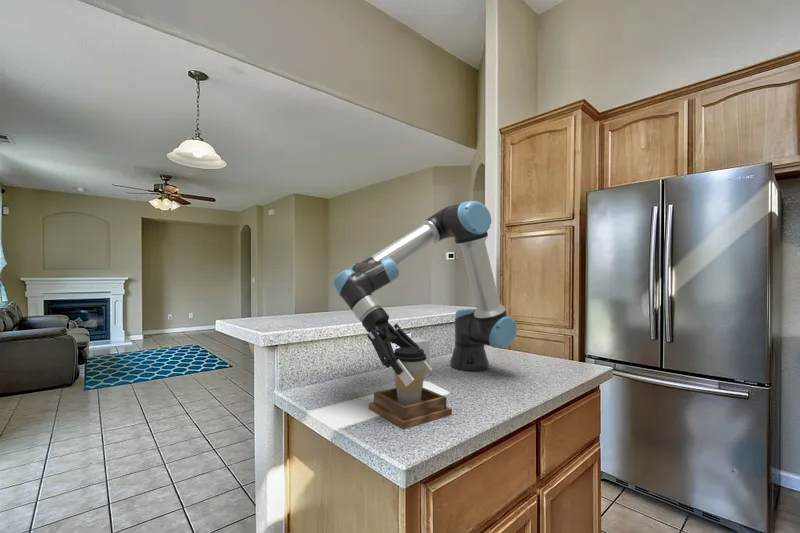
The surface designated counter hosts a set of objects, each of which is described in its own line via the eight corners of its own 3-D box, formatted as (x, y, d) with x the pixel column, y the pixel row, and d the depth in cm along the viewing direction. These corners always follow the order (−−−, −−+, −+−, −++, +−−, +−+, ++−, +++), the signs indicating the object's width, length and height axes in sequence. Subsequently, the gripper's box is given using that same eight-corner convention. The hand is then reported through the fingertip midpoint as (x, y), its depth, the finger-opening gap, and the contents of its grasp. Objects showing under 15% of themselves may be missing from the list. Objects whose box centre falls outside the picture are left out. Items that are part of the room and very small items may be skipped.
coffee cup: (423, 414, 94) (424, 355, 94) (387, 410, 95) (388, 353, 95) (428, 400, 103) (428, 347, 103) (395, 398, 105) (395, 345, 105)
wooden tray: (414, 397, 110) (414, 382, 110) (451, 414, 97) (451, 397, 97) (368, 408, 101) (368, 392, 101) (403, 429, 88) (403, 410, 88)
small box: (429, 376, 132) (430, 340, 132) (415, 379, 128) (416, 342, 129) (415, 371, 139) (416, 337, 139) (402, 374, 135) (402, 338, 135)
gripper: (384, 319, 117) (428, 375, 109) (339, 328, 97) (389, 398, 89) (398, 303, 114) (445, 360, 107) (355, 309, 94) (409, 380, 87)
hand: (419, 377), depth 98 cm, fingers open, 10 cm apart
